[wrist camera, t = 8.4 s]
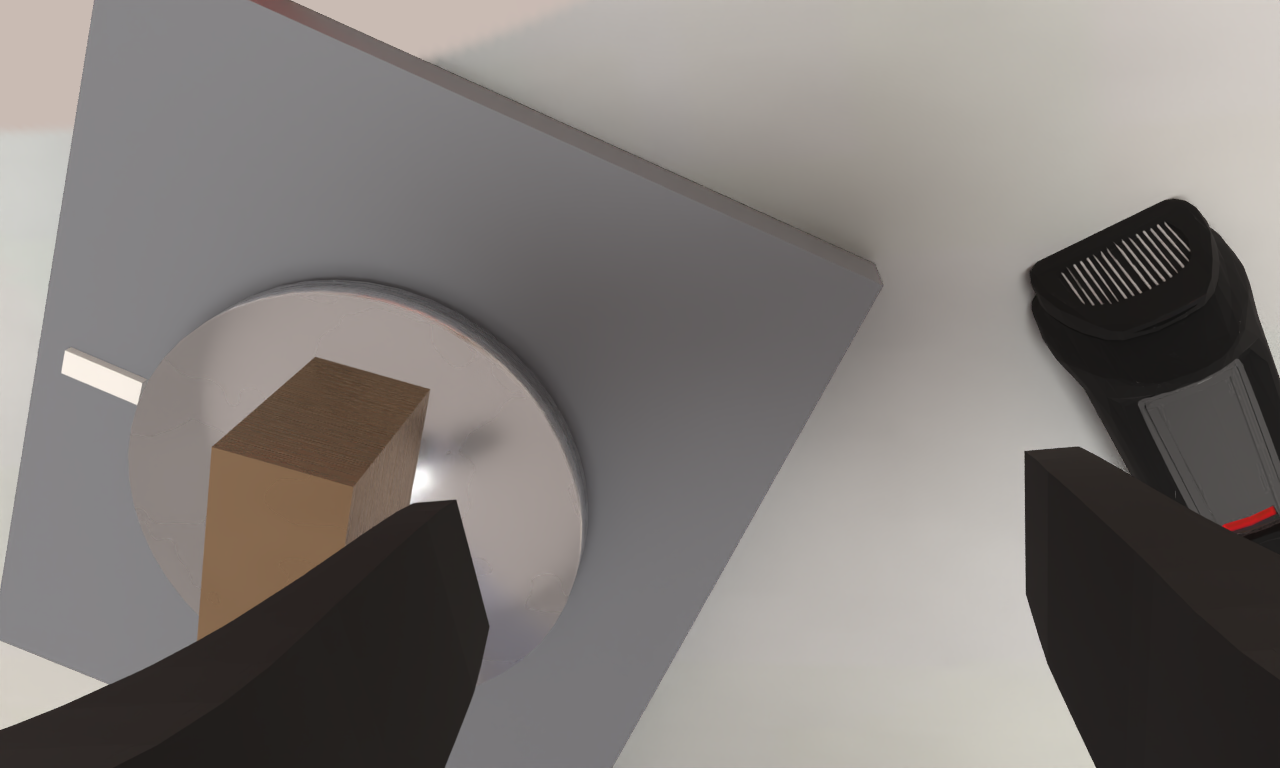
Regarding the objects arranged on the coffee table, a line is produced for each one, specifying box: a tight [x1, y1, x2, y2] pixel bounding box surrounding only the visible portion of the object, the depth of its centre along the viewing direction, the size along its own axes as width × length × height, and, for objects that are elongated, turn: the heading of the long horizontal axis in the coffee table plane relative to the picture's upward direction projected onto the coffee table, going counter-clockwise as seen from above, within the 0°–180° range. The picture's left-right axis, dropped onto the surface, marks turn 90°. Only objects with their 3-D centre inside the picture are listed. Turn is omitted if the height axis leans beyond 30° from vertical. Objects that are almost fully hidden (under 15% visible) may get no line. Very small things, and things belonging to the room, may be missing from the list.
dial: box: [128, 280, 588, 686], centre depth 19 cm, size 10×10×5 cm
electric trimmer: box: [1030, 199, 1280, 555], centre depth 21 cm, size 4×16×3 cm, turn 31°
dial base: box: [0, 0, 883, 768], centre depth 23 cm, size 18×16×2 cm
